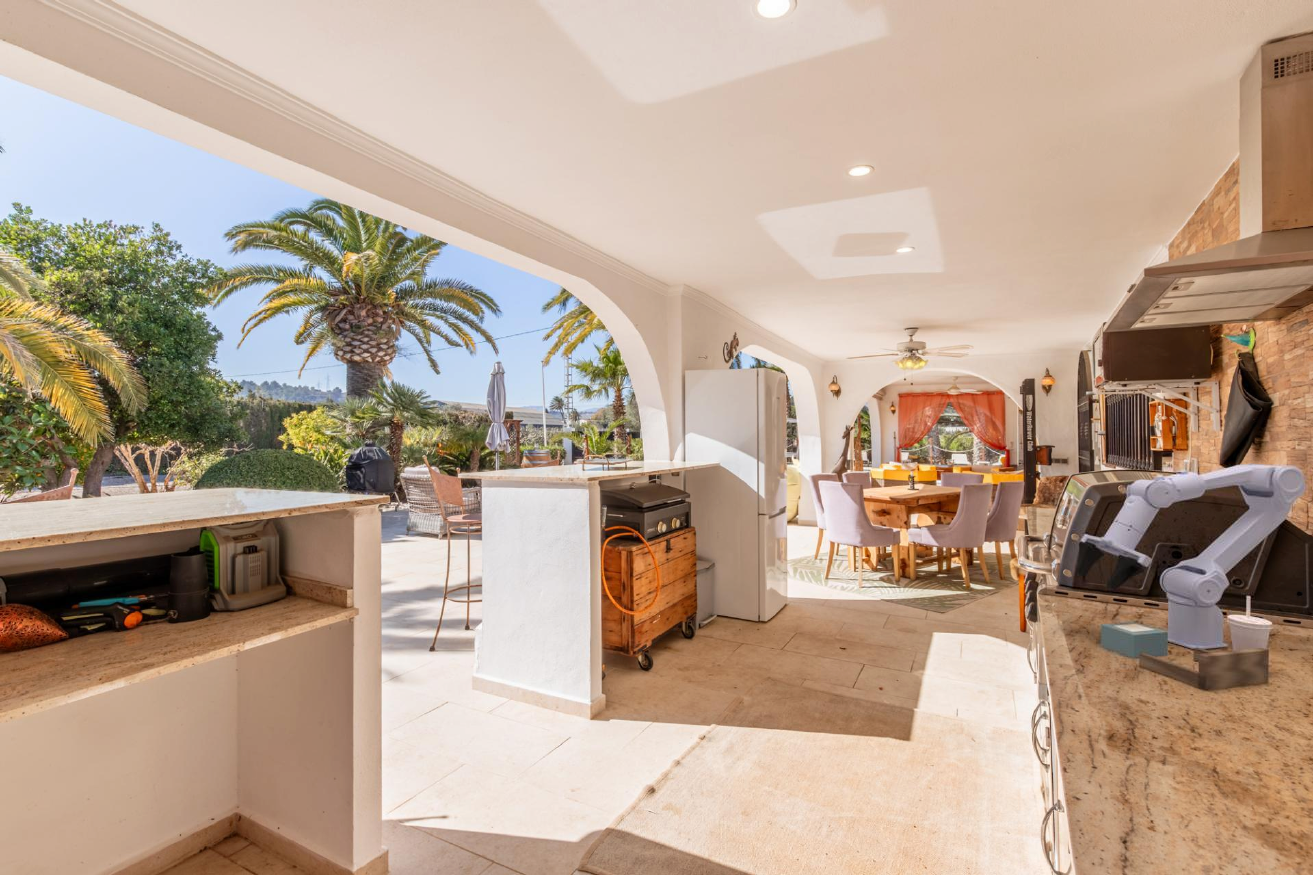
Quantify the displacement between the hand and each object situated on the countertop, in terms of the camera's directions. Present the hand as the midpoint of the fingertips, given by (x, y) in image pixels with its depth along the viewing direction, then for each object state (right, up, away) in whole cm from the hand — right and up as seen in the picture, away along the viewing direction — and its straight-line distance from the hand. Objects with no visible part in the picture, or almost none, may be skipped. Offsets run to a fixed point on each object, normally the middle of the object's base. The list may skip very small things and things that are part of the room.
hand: (1094, 581), depth 135 cm
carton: (+4, -13, -6) cm, 15 cm away
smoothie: (+19, -13, -16) cm, 28 cm away
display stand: (+7, -13, -18) cm, 23 cm away
